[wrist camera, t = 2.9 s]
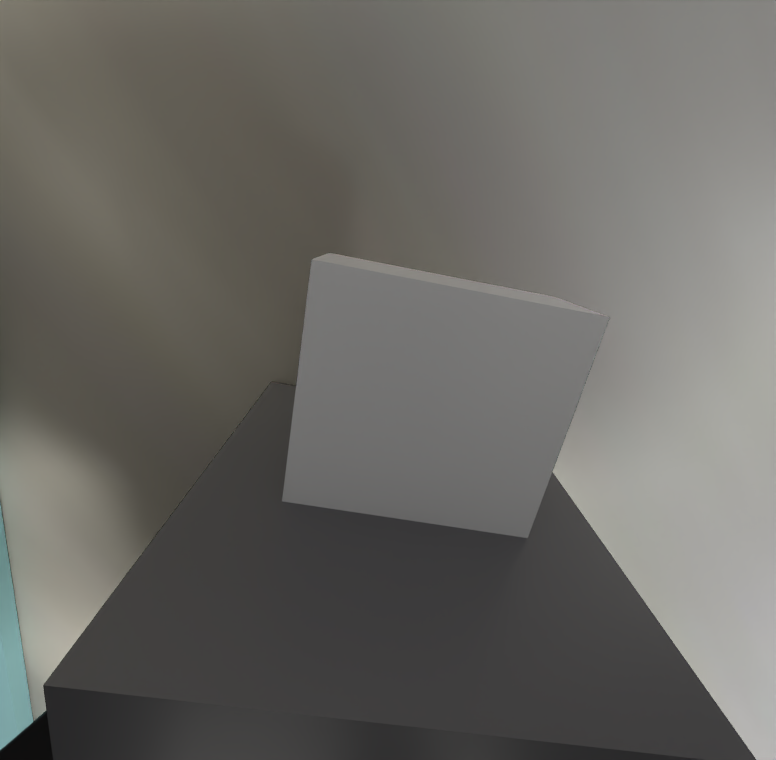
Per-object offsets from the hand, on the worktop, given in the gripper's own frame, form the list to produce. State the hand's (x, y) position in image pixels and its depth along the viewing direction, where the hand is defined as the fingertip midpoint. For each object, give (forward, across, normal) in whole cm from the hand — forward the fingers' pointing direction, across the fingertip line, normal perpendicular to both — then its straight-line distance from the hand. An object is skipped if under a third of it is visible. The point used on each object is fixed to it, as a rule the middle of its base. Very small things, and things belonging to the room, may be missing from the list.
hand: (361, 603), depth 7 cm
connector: (+1, 0, 0) cm, 1 cm away
